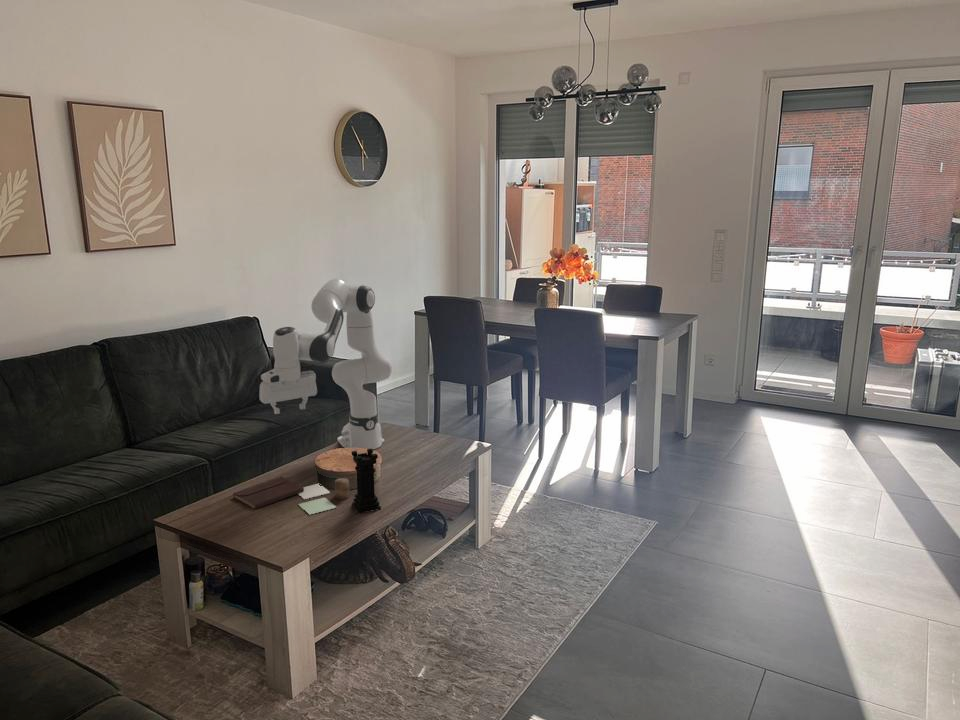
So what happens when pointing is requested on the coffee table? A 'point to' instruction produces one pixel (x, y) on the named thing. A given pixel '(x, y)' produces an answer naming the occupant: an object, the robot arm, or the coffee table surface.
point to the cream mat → (313, 491)
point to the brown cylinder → (342, 488)
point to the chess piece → (365, 482)
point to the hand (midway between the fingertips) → (289, 411)
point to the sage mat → (317, 506)
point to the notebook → (268, 492)
